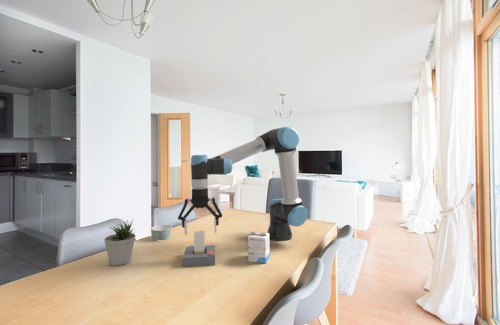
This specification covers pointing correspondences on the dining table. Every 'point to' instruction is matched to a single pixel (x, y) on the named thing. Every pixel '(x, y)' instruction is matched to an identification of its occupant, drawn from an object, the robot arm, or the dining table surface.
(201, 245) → the plug
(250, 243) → the ink box
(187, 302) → the dining table surface
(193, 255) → the socket
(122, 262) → the potted plant
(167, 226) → the food container
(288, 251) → the dining table surface
